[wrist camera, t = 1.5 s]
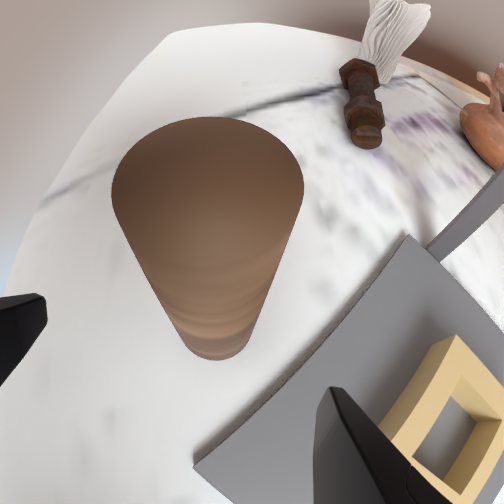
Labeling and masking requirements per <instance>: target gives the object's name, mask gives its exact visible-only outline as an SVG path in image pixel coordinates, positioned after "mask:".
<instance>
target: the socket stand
mask: <svg viewBox="0 0 504 504" xmlns="http://www.w3.org/2000/svg"><path fill="white" fill-rule="evenodd" d="M503 203H504V163H503V164H502V165H501V167H500V168H499V169H498V170H497V171H496V173H495V174H494V175H493V176H492V177H491V179H490V180H489V181H488V182H487V183H486V184H485V185H484V187H483V188H482V189H481V190H480V191H479V192H478V193H477V195H476V196H475V197H474V198H473V199H472V200H471V201H470V202H469V203H468V204H467V205H466V207H465V208H464V209H463V210H462V211H461V212H460V213H459V214H458V215H457V216H456V217H455V218H454V219H453V220H452V221H451V222H450V223H449V224H448V225H447V226H446V227H445V228H444V229H443V230H442V231H441V232H440V233H439V234H438V235H437V236H436V237H435V238H434V239H433V240H432V241H431V242H430V243H429V245H428V247H427V248H426V250H425V249H424V248H423V247H422V246H421V245H420V244H419V243H418V242H417V241H416V240H415V239H414V238H413V237H412V236H410V235H408V236H407V237H406V238H405V239H404V241H403V242H402V243H401V245H400V246H399V248H398V249H397V250H396V252H395V253H394V255H393V256H392V257H391V259H390V260H389V261H388V263H387V264H386V266H385V267H384V268H383V270H382V271H381V272H380V274H379V275H378V276H377V277H376V279H375V280H374V281H373V283H372V284H371V285H370V287H369V288H368V289H367V290H366V292H365V293H364V294H363V295H362V297H361V298H360V299H359V300H358V302H357V303H356V304H355V305H354V307H353V308H352V309H351V310H350V311H349V313H348V314H347V315H346V316H345V317H344V319H343V320H342V321H341V322H340V323H339V325H338V326H337V327H336V328H335V329H334V330H333V331H332V333H331V334H330V335H329V336H328V337H327V338H326V339H325V341H324V342H323V343H322V344H321V345H320V346H319V347H318V348H317V350H316V351H315V352H314V353H313V354H312V355H311V356H310V357H309V358H308V359H307V360H306V362H305V363H304V364H303V365H302V366H301V367H300V368H299V369H298V370H297V371H296V372H295V373H294V374H293V375H292V376H291V377H290V378H289V379H288V380H287V381H286V382H285V383H284V384H283V385H282V386H281V388H280V389H279V390H278V391H277V392H275V393H274V394H273V395H272V396H271V397H270V398H269V399H268V400H267V401H266V402H265V403H264V404H263V405H262V406H261V407H260V408H259V409H258V410H257V411H256V412H255V413H254V414H253V415H252V416H251V417H249V418H248V419H247V420H246V421H245V422H244V423H243V424H242V425H241V426H240V427H239V428H237V429H236V430H235V431H234V432H233V433H232V434H231V435H230V436H228V437H227V438H226V439H225V440H224V441H223V442H221V443H220V444H219V445H218V446H217V447H216V448H214V449H213V450H212V451H211V452H210V453H208V454H207V455H206V456H205V457H204V458H202V459H201V460H200V461H199V462H197V463H196V464H195V465H194V466H193V469H194V470H195V471H196V472H197V473H198V474H200V475H201V476H202V477H203V478H204V479H205V480H206V481H207V482H208V483H210V484H211V485H212V486H213V487H214V488H215V489H217V490H218V491H219V492H220V493H221V494H223V495H224V496H225V497H226V498H228V499H229V500H230V501H231V502H233V503H234V504H313V445H314V434H315V422H316V411H317V407H318V405H319V403H320V401H321V399H322V397H323V395H324V393H325V391H326V389H327V388H328V387H329V386H335V387H341V388H343V389H344V390H345V391H346V392H347V393H348V394H349V395H350V396H351V397H352V399H353V400H354V401H355V402H356V403H357V404H358V405H359V406H360V408H361V409H362V410H363V411H364V412H365V413H366V414H367V415H368V416H369V418H370V419H371V420H372V421H373V422H374V423H375V424H376V425H377V427H378V428H379V429H380V430H381V431H382V432H383V433H384V434H385V435H386V436H387V438H388V439H389V440H390V441H391V442H392V443H393V444H394V445H395V446H396V447H397V449H398V450H399V451H400V452H401V453H402V454H403V455H404V456H405V457H406V458H407V459H408V461H409V462H410V463H411V466H412V465H413V466H414V467H415V468H416V469H417V470H418V471H419V472H420V473H421V474H422V475H423V476H424V478H425V479H426V480H427V481H428V482H429V483H430V484H431V485H432V486H434V487H435V488H436V489H437V490H438V491H439V492H440V493H441V494H442V495H444V496H445V497H446V498H447V499H448V500H449V501H451V502H452V503H453V504H492V503H493V501H494V499H495V498H496V496H497V494H498V493H499V491H500V489H501V488H502V486H503V484H504V334H503V332H502V331H501V330H500V329H499V328H498V326H497V325H496V324H495V323H494V322H493V320H492V319H491V318H490V317H489V316H488V315H487V313H486V312H485V311H484V310H483V309H482V308H481V307H480V305H479V304H478V303H477V302H476V301H475V300H474V299H473V298H472V297H471V295H470V294H469V293H468V292H467V291H466V290H465V289H464V288H463V287H462V286H461V285H460V284H459V283H458V282H457V280H456V279H455V278H454V277H453V276H452V275H451V274H450V273H449V272H448V271H447V270H446V269H445V268H444V267H443V266H442V265H441V264H440V263H439V262H440V261H442V260H443V259H444V258H445V257H446V256H448V255H449V254H450V253H451V252H452V251H453V250H455V249H456V248H457V247H458V246H459V245H460V244H461V243H462V242H464V241H465V240H466V239H467V238H468V237H469V236H470V235H471V234H472V233H473V232H475V231H476V230H477V229H478V228H479V227H480V226H481V225H482V224H483V223H484V222H485V221H486V220H487V219H488V218H489V217H490V216H491V215H492V214H493V213H494V212H495V211H496V210H497V209H498V208H499V207H500V206H501V205H502V204H503Z"/></svg>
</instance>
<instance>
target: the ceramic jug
mask: <svg viewBox="0 0 504 504" xmlns="http://www.w3.org/2000/svg"><path fill="white" fill-rule="evenodd" d="M477 79H478V80H479V81H480V82H483V83H485V84H486V85H487V86H488V88H489V90H490V92H491V98H490V104H489V105H486V104H479V103H470V104H467V105H466V106H464V108H463V109H462V111H461V112H460V124H461V127H462V130H463V132H464V134H465V136H466V138H467V140H468V141H469V143H470V144H471V146H472V147H473V148H474V150H475V151H476V152H477V153H478V155H479V156H480V157H481V158H482V159H483V160H484V161H485V162H486V163H487V164H488V165H489V166H490V167H492V168H493V169H494V170H496V171H497V170H498V169H499V168H500V167H501V165H502V164H503V163H504V65H503V64H502V63H499V64H498V66H497V68H496V70H495V74H494V78H493V80H492V79H491V78H490V77H489V76H488V75H487V74H485V73H483V72H477Z"/></svg>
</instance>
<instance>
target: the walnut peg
mask: <svg viewBox="0 0 504 504" xmlns="http://www.w3.org/2000/svg"><path fill="white" fill-rule="evenodd" d="M303 196H304V181H303V175H302V172H301V169H300V166H299V164H298V162H297V160H296V158H295V157H294V155H293V154H292V152H291V151H290V150H289V149H288V148H287V146H286V145H285V144H284V143H282V142H281V141H280V140H279V139H278V138H277V137H275V136H274V135H272V134H271V133H269V132H268V131H266V130H264V129H262V128H260V127H258V126H255V125H253V124H250V123H247V122H244V121H241V120H236V119H231V118H224V117H198V118H190V119H185V120H181V121H177V122H174V123H171V124H168V125H166V126H163V127H161V128H159V129H157V130H155V131H153V132H151V133H150V134H148V135H147V136H145V137H144V138H142V139H141V140H140V141H138V142H137V143H136V144H135V145H134V146H133V147H132V148H131V149H130V150H129V151H128V152H127V154H126V155H125V156H124V158H123V159H122V160H121V162H120V164H119V166H118V168H117V170H116V173H115V175H114V178H113V183H112V193H111V198H112V205H113V209H114V212H115V215H116V217H117V220H118V222H119V224H120V226H121V228H122V230H123V232H124V234H125V236H126V238H127V241H128V243H129V245H130V247H131V249H132V251H133V253H134V255H135V257H136V258H137V260H138V262H139V264H140V266H141V268H142V270H143V272H144V274H145V276H146V278H147V279H148V281H149V283H150V285H151V287H152V289H153V290H154V292H155V294H156V296H157V298H158V299H159V301H160V303H161V305H162V307H163V308H164V310H165V312H166V314H167V315H168V317H169V319H170V320H171V322H172V324H173V325H174V327H175V329H176V330H177V332H178V334H179V335H180V337H181V339H182V340H183V342H184V343H185V345H186V346H187V348H188V349H189V350H190V351H192V352H193V353H194V354H196V355H197V356H199V357H201V358H204V359H208V360H224V359H228V358H231V357H233V356H235V355H236V354H238V353H239V352H240V351H241V350H242V349H243V348H244V347H245V346H246V344H247V343H248V341H249V338H250V336H251V334H252V331H253V329H254V326H255V324H256V321H257V319H258V316H259V314H260V311H261V309H262V306H263V304H264V301H265V299H266V296H267V294H268V291H269V289H270V286H271V284H272V281H273V278H274V276H275V273H276V271H277V268H278V266H279V263H280V260H281V258H282V255H283V253H284V250H285V247H286V245H287V242H288V239H289V237H290V234H291V232H292V229H293V226H294V224H295V221H296V218H297V216H298V213H299V210H300V207H301V205H302V200H303Z"/></svg>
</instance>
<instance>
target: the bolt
mask: <svg viewBox="0 0 504 504" xmlns="http://www.w3.org/2000/svg"><path fill="white" fill-rule="evenodd" d="M339 74H340V77H341V80H342V83H343V86H344V89H346V90H349V95H350V101H349V102H348V103H347V104H346V105H345V106H344V115H345V119H346V123H347V126H348V128H349V129H350V130H351V133H352V135H351V136H352V141H353V143H354V144H355V145H356V146H358V147H360V148H363V149H374V148H377V147H378V146H380V144H381V142H382V134H381V129H382V128H383V127H384V126H385V120H384V115H383V110H382V105H381V102H379V101H377V100H376V98H375V94H374V90H375V89H377V88H378V87H380V84H379V79H378V75H377V71H376V67H375V65H374V64H372V63H370V62H368V61H365V60H362V59H357V58H354V59H352V60H350V61H349V62H347V63H346V64H344V65H343V66H342V67H341V68H340V69H339Z"/></svg>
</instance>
